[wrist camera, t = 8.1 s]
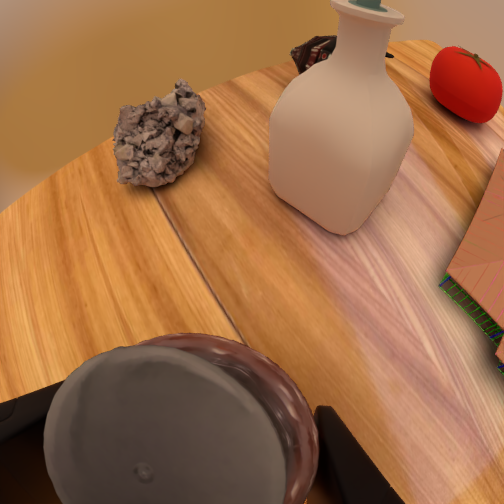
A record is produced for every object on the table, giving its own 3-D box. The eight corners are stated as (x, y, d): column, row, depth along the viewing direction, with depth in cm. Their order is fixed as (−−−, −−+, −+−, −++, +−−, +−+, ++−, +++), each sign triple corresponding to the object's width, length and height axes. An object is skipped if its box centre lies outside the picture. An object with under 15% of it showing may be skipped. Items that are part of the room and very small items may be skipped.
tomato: (482, 110, 38) (503, 63, 28) (488, 148, 33) (519, 91, 22) (424, 79, 41) (439, 28, 31) (418, 109, 36) (440, 45, 26)
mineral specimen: (188, 86, 32) (155, 48, 22) (242, 129, 32) (223, 97, 22) (123, 161, 34) (74, 146, 24) (171, 209, 34) (128, 207, 24)
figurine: (259, 96, 37) (311, 134, 28) (291, -1, 27) (361, 3, 19) (319, 110, 41) (377, 150, 33) (351, 25, 32) (423, 45, 23)
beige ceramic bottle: (343, 252, 25) (440, -38, 5) (259, 192, 28) (251, -68, 8) (391, 190, 28) (467, -21, 8) (316, 144, 31) (340, -59, 11)
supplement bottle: (304, 462, 12) (400, 562, 2) (190, 491, 11) (68, 598, 1) (266, 357, 15) (278, 240, 5) (157, 388, 14) (-10, 326, 4)
